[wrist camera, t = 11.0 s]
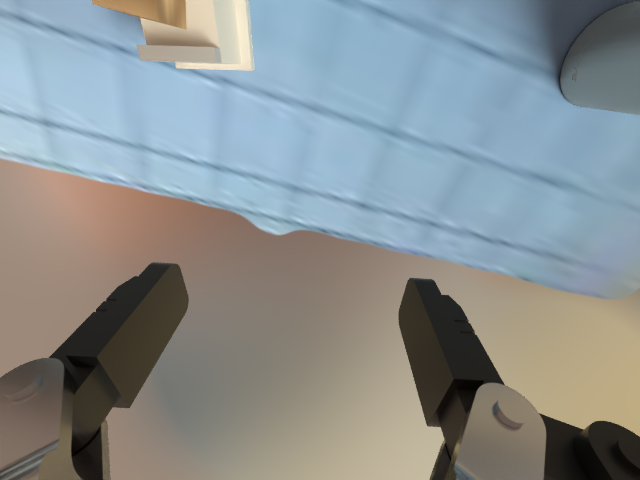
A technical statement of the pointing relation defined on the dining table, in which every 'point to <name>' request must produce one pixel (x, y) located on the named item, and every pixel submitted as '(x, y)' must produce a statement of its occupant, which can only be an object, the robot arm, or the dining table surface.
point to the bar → (151, 10)
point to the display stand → (203, 37)
